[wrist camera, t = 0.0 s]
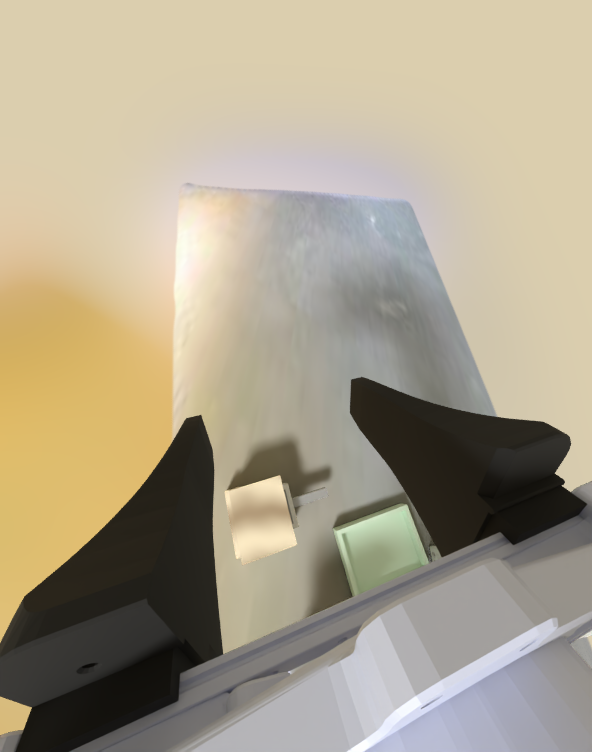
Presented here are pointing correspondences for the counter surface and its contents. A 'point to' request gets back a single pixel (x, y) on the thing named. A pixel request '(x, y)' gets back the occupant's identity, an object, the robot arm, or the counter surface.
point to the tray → (379, 548)
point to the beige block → (259, 519)
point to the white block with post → (301, 500)
